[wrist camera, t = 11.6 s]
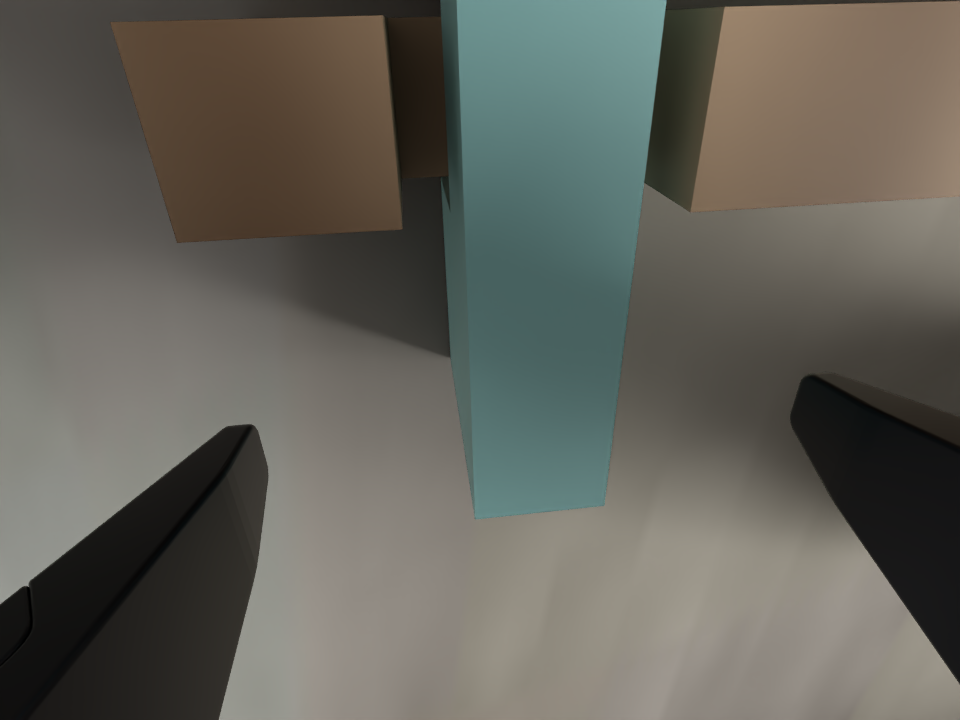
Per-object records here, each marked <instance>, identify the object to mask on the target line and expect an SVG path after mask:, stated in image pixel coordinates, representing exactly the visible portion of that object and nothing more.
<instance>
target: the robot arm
mask: <svg viewBox="0 0 960 720" xmlns="http://www.w3.org/2000/svg"><path fill="white" fill-rule="evenodd" d="M790 421H791V425H792V428H793V430H794V432H795V434H796V436H797V438H798V439H799V441H800V443H801V445H802V447H803V448H804V450H805V452H806V454H807V456H808V457H809V459H810V461H811V463H812V465H813V466H814V468H815V470H816V472H817V474H818V475H819V477H820V479H821V481H822V483H823V484H824V486H825V488H826V490H827V492H828V493H829V495H830V497H831V498H832V500H833V502H834V503H835V505H836V506H837V508H838V509H839V511H840V512H841V514H842V515H843V517H844V518H845V520H846V521H847V523H848V524H849V526H850V527H851V528H852V530H853V531H854V533H855V534H856V536H857V537H858V538H859V540H860V541H861V543H862V544H863V546H864V547H865V549H866V550H867V551H868V553H869V554H870V556H871V557H872V559H873V560H874V562H875V563H876V564H877V566H878V567H879V569H880V570H881V572H882V573H883V574H884V576H885V577H886V579H887V580H888V582H889V583H890V585H891V586H892V587H893V589H894V590H895V592H896V593H897V595H898V596H899V597H900V599H901V600H902V602H903V603H904V605H905V606H906V608H907V609H908V610H909V612H910V613H911V615H912V616H913V618H914V619H915V621H916V622H917V623H918V625H919V626H920V628H921V629H922V631H923V632H924V633H925V635H926V636H927V638H928V639H929V641H930V642H931V644H932V645H933V646H934V648H935V649H936V651H937V652H938V654H939V655H940V656H941V658H942V659H943V661H944V662H945V664H946V665H947V667H948V668H949V669H950V671H951V672H952V674H953V675H954V677H955V678H956V679H957V681H958V682H959V684H960V417H959V416H956V415H953V414H950V413H947V412H944V411H941V410H938V409H936V408H933V407H930V406H927V405H924V404H921V403H918V402H915V401H913V400H910V399H907V398H904V397H901V396H898V395H895V394H892V393H889V392H887V391H884V390H881V389H878V388H875V387H872V386H869V385H866V384H864V383H861V382H858V381H855V380H852V379H849V378H846V377H843V376H841V375H838V374H835V373H830V372H825V373H815V374H808V375H806V376H804V377H803V379H802V380H801V382H800V385H799V388H798V391H797V394H796V398H795V401H794V404H793V407H792V410H791V414H790ZM267 485H268V466H267V462H266V458H265V454H264V451H263V447H262V444H261V440H260V436H259V433H258V430H257V429H256V427H255V426H254V425H252V424H246V425H234V426H227V427H225V428H224V429H222V430H221V431H220V432H218V433H217V434H216V435H215V436H213V437H212V438H211V439H210V440H208V441H207V442H206V443H205V444H203V445H202V446H201V447H199V448H198V449H197V450H196V451H194V452H193V453H192V454H191V455H189V456H188V457H187V458H185V459H184V460H183V461H182V462H180V463H179V464H178V465H177V466H175V467H174V468H173V469H172V470H170V471H169V472H168V473H166V474H165V475H164V476H163V477H161V478H160V479H159V480H158V481H156V482H155V483H154V484H153V485H151V486H150V487H149V488H147V489H146V490H145V491H144V492H142V493H141V494H140V495H139V496H137V497H136V498H135V499H133V500H132V501H131V502H130V503H128V504H127V505H126V506H125V507H123V508H122V509H121V510H120V511H118V512H117V513H116V514H114V515H113V516H112V517H111V518H109V519H108V520H107V521H106V522H104V523H103V524H102V525H100V526H99V527H98V528H97V529H95V530H94V531H93V532H92V533H90V534H89V535H88V536H87V537H85V538H84V539H83V540H81V541H80V542H79V543H78V544H76V545H75V546H74V547H73V548H71V549H70V550H69V551H67V552H66V553H65V554H64V555H62V556H61V557H60V558H59V559H57V560H56V561H55V562H53V563H52V564H51V565H50V566H48V567H47V568H46V569H45V570H43V571H42V572H41V573H40V574H38V575H37V576H36V577H34V578H33V579H32V580H31V581H30V582H29V587H28V586H23V587H22V588H20V589H19V590H18V591H16V592H15V593H14V594H13V595H11V596H10V597H9V598H8V599H6V600H5V601H4V602H3V603H1V604H0V720H219V716H220V712H221V708H222V704H223V700H224V696H225V692H226V688H227V685H228V681H229V677H230V673H231V669H232V665H233V661H234V657H235V653H236V649H237V645H238V641H239V637H240V633H241V629H242V625H243V621H244V618H245V614H246V610H247V606H248V602H249V598H250V594H251V590H252V586H253V582H254V578H255V573H256V569H257V563H258V556H259V549H260V541H261V533H262V525H263V517H264V509H265V501H266V493H267Z"/></svg>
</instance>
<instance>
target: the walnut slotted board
mask: <svg viewBox="0 0 960 720" xmlns="http://www.w3.org/2000/svg"><path fill="white" fill-rule="evenodd" d="M110 24H111V27H112V30H113V33H114V37H115V40H116V43H117V47H118V50H119V53H120V56H121V60H122V63H123V66H124V70H125V73H126V76H127V79H128V83H129V86H130V89H131V93H132V96H133V99H134V102H135V106H136V109H137V112H138V116H139V119H140V122H141V126H142V129H143V132H144V135H145V139H146V142H147V145H148V149H149V152H150V155H151V158H152V162H153V165H154V168H155V172H156V175H157V178H158V181H159V185H160V188H161V191H162V195H163V198H164V201H165V204H166V208H167V211H168V214H169V218H170V221H171V224H172V228H173V231H174V234H175V237H176V241H177V243H182V242H199V241H216V240H232V239H249V238H266V237H283V236H300V235H317V234H333V233H350V232H367V231H384V230H401V229H402V178H421V177H441V176H449V172H448V151H447V130H446V109H445V88H444V67H443V46H442V25H441V16H440V17H401V18H386V17H384V16H382V15H377V16H336V17H296V18H256V19H216V20H176V21H136V22H110ZM644 183H646V184H647V185H649V186H651V187H652V188H654V189H655V190H657V191H658V192H660V193H661V194H663V195H664V196H666V197H668V198H669V199H671V200H672V201H674V202H675V203H677V204H678V205H680V206H681V207H683V208H685V209H686V210H688V211H689V212H704V211H721V210H738V209H755V208H771V207H788V206H805V205H822V204H839V203H856V202H872V201H889V200H906V199H923V198H940V197H957V196H960V1H938V2H898V3H858V4H818V5H778V6H738V7H712V8H693V9H675V10H665V17H664V25H663V33H662V42H661V50H660V58H659V66H658V74H657V82H656V90H655V98H654V106H653V115H652V123H651V131H650V139H649V147H648V155H647V163H646V171H645V179H644Z"/></svg>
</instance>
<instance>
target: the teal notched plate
mask: <svg viewBox="0 0 960 720" xmlns="http://www.w3.org/2000/svg"><path fill="white" fill-rule="evenodd" d="M666 1H667V0H440V4H441V25H442V46H443V67H444V88H445V109H446V130H447V151H448V172H449V177H441V191H442V210H443V228H444V246H445V265H446V283H447V301H448V320H449V338H450V356H451V365H452V371H453V378H454V384H455V391H456V398H457V404H458V411H459V417H460V424H461V430H462V437H463V444H464V450H465V457H466V463H467V470H468V477H469V483H470V490H471V496H472V503H473V509H474V516H475V519H483V518H493V517H502V516H512V515H521V514H531V513H540V512H550V511H559V510H569V509H578V508H587V507H597V506H604V504H605V495H606V487H607V479H608V471H609V463H610V455H611V447H612V439H613V431H614V423H615V414H616V406H617V398H618V390H619V382H620V374H621V366H622V358H623V350H624V341H625V333H626V325H627V317H628V309H629V301H630V293H631V285H632V277H633V269H634V260H635V252H636V244H637V236H638V228H639V220H640V212H641V204H642V196H643V187H644V179H645V171H646V163H647V155H648V147H649V139H650V131H651V123H652V115H653V106H654V98H655V90H656V82H657V74H658V66H659V58H660V50H661V42H662V33H663V25H664V17H665V9H666Z"/></svg>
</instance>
